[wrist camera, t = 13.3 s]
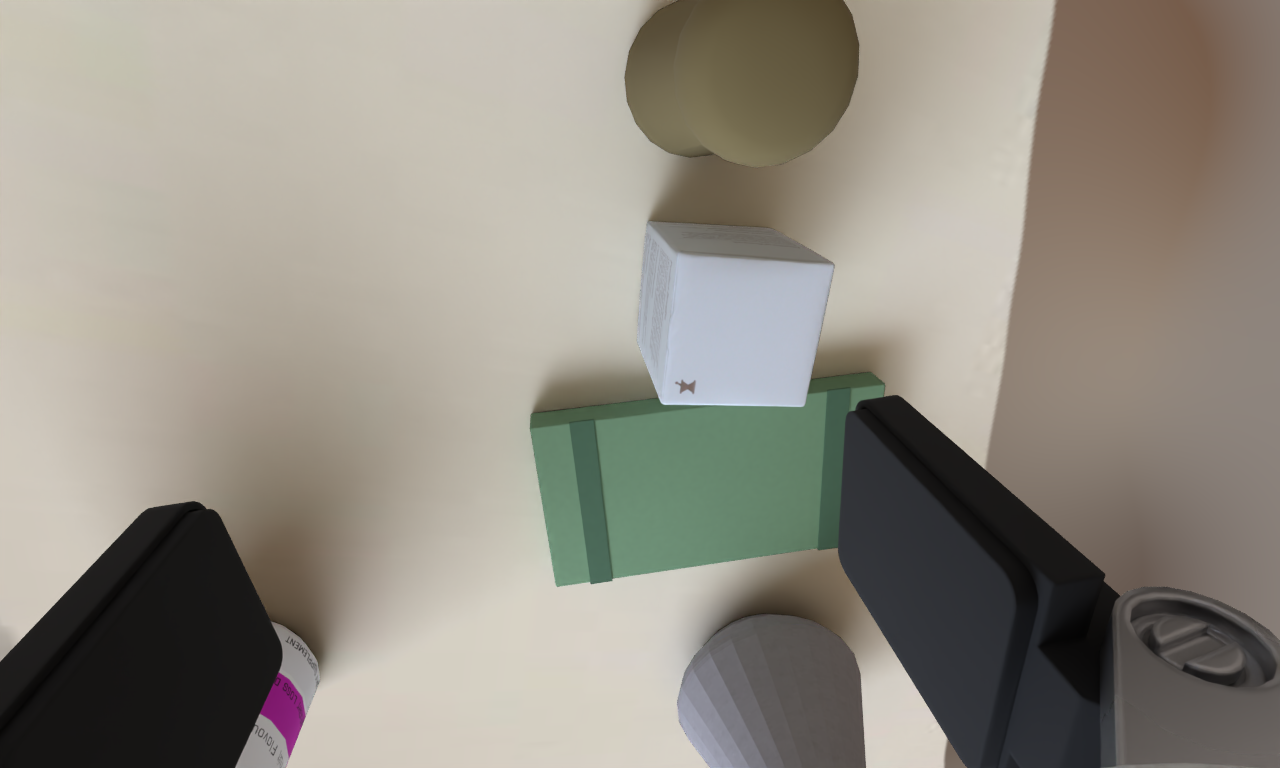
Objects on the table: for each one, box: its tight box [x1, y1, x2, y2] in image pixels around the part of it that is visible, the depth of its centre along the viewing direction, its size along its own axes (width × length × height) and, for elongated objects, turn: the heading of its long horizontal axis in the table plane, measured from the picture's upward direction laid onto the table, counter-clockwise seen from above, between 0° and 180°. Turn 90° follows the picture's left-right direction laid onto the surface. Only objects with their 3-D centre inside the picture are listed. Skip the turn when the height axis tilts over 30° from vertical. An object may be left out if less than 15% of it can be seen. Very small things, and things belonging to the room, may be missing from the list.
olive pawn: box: [625, 0, 859, 168], centre depth 21 cm, size 6×6×11 cm
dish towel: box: [530, 372, 885, 587], centre depth 34 cm, size 10×18×2 cm, turn 94°
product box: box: [637, 221, 835, 407], centre depth 27 cm, size 6×6×7 cm
